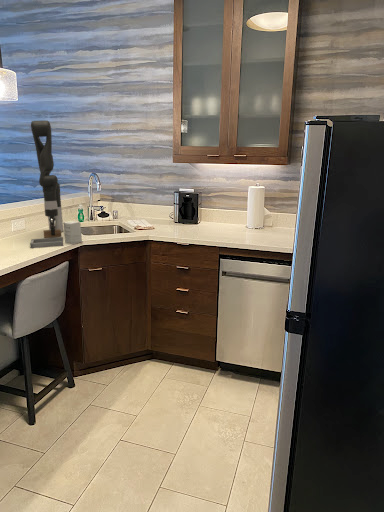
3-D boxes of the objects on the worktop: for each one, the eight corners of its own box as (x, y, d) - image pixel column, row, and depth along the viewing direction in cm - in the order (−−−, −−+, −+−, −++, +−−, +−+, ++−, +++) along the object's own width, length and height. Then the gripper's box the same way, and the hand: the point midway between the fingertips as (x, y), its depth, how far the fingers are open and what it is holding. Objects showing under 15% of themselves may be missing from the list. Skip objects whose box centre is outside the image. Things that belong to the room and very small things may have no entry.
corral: (31, 243, 240) (31, 239, 240) (63, 240, 246) (62, 236, 245) (30, 248, 228) (30, 243, 227) (63, 245, 233) (63, 241, 233)
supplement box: (75, 240, 246) (73, 220, 243) (82, 242, 242) (80, 221, 239) (64, 242, 241) (62, 222, 238) (71, 244, 236) (70, 223, 233)
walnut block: (44, 239, 250) (43, 230, 248) (61, 238, 253) (60, 229, 252) (44, 241, 246) (43, 231, 244) (61, 239, 249) (60, 230, 248)
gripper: (45, 207, 250) (47, 232, 254) (44, 209, 237) (46, 236, 240) (57, 206, 252) (59, 231, 256) (57, 209, 239) (59, 235, 243)
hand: (53, 234), depth 248 cm, fingers open, 8 cm apart
